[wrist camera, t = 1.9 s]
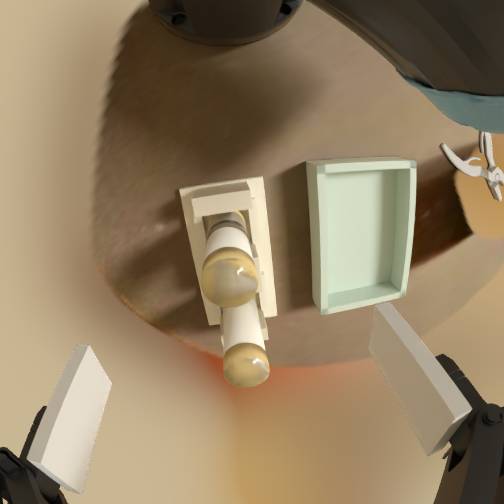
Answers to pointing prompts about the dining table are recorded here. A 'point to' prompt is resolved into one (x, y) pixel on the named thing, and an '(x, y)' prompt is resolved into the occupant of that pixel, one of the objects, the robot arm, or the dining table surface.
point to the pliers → (490, 173)
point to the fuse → (244, 346)
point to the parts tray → (360, 229)
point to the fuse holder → (255, 214)
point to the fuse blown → (228, 262)
